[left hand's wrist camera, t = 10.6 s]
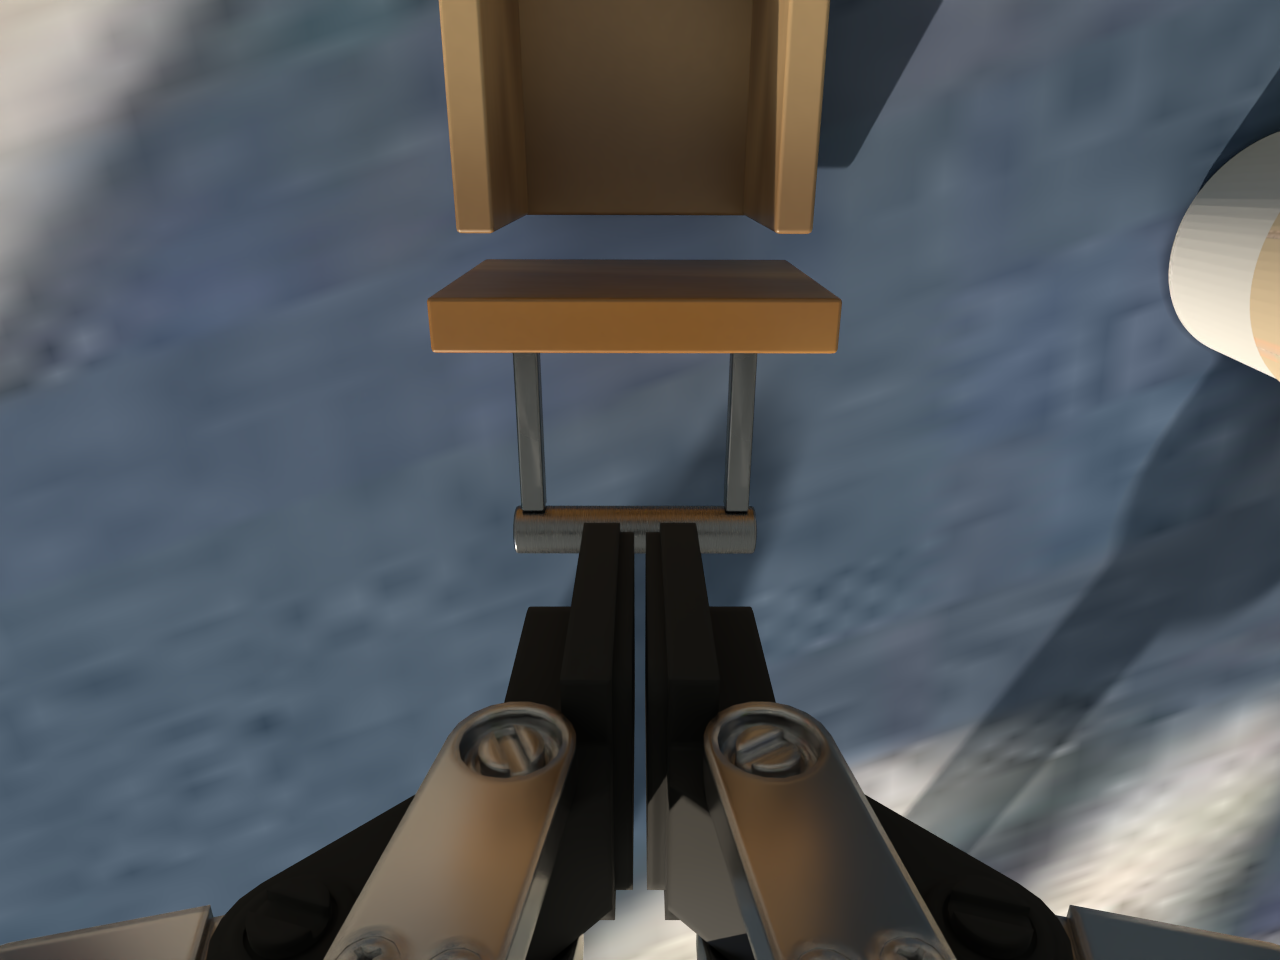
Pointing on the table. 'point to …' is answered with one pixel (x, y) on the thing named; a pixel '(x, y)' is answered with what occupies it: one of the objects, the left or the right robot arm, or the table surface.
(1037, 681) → the table surface
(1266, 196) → the coffee cup
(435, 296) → the drawer
